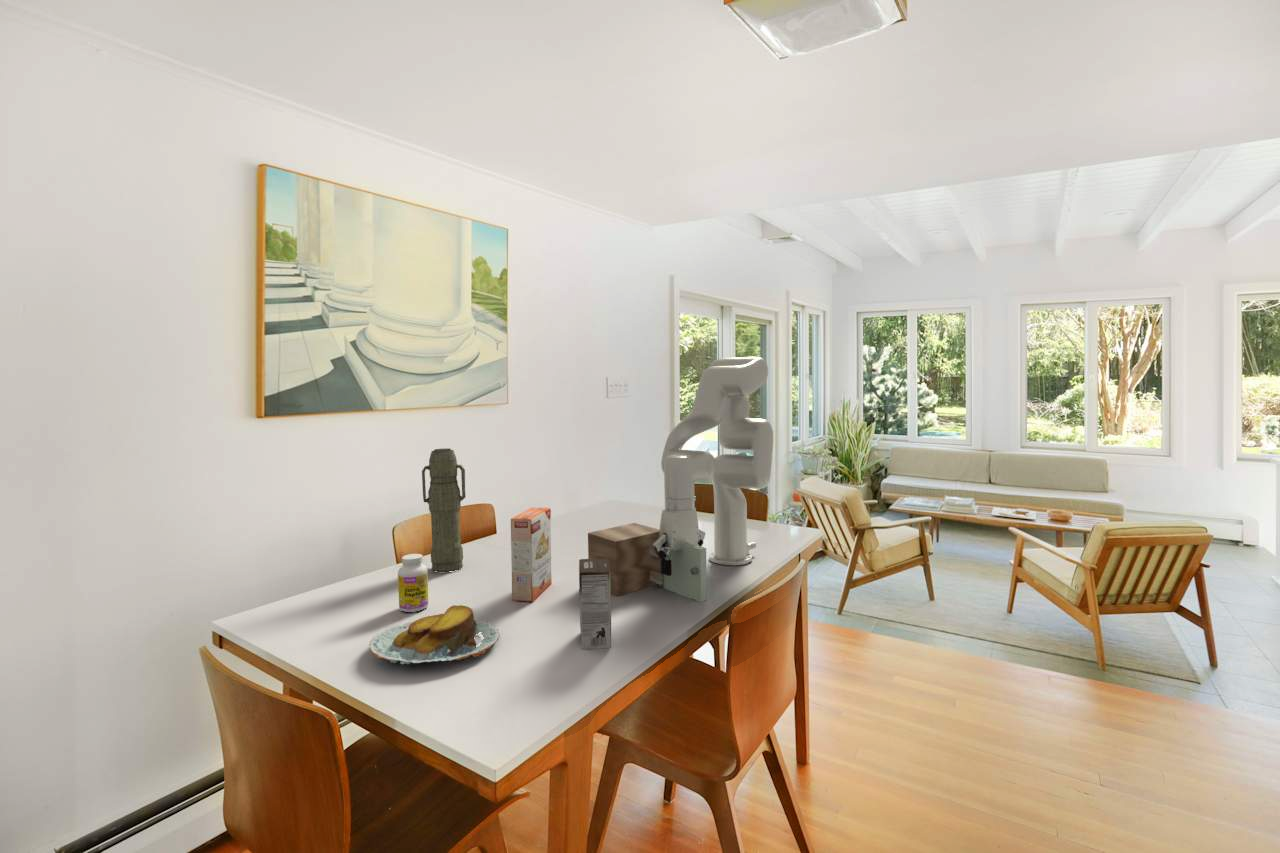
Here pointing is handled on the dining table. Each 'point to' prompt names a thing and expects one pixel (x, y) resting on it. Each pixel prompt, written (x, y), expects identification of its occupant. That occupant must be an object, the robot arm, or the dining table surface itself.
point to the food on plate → (435, 638)
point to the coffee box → (595, 603)
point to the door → (687, 572)
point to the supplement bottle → (413, 584)
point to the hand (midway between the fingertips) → (680, 570)
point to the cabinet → (627, 556)
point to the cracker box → (531, 553)
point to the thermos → (444, 509)
